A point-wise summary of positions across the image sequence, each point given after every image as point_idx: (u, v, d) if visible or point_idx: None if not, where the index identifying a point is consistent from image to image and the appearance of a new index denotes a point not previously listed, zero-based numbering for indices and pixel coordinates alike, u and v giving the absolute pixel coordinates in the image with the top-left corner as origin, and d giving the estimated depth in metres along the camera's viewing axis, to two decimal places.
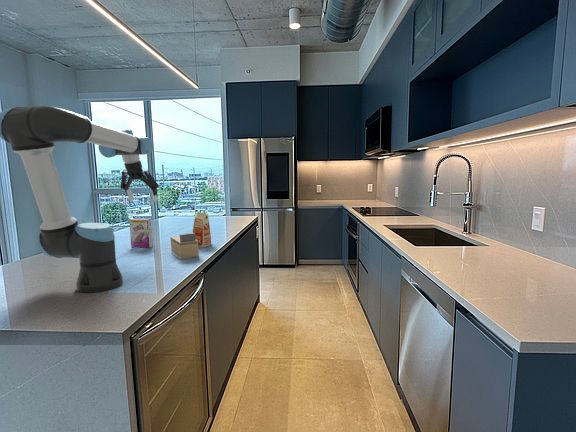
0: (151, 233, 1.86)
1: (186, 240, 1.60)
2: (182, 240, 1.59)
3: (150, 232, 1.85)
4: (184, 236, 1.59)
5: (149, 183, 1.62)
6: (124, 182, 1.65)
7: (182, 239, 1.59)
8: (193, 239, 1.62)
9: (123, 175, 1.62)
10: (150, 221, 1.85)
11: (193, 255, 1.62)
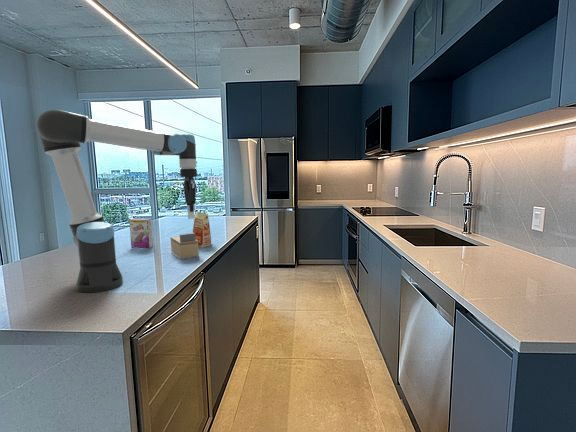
0: (151, 233, 1.86)
1: (186, 240, 1.60)
2: (182, 240, 1.59)
3: (150, 232, 1.85)
4: (184, 236, 1.59)
5: None
6: None
7: (182, 239, 1.59)
8: (193, 239, 1.62)
9: (184, 186, 1.56)
10: (150, 221, 1.85)
11: (193, 255, 1.62)
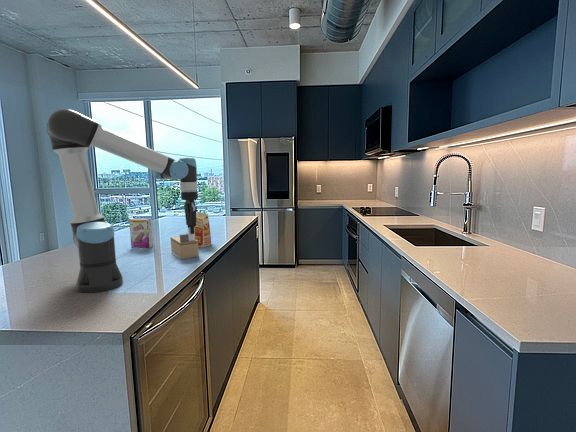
0: (151, 233, 1.86)
1: (186, 240, 1.60)
2: (182, 240, 1.59)
3: (150, 232, 1.85)
4: (184, 236, 1.59)
5: None
6: None
7: (182, 239, 1.59)
8: None
9: (184, 208, 1.57)
10: (150, 221, 1.85)
11: (193, 255, 1.62)
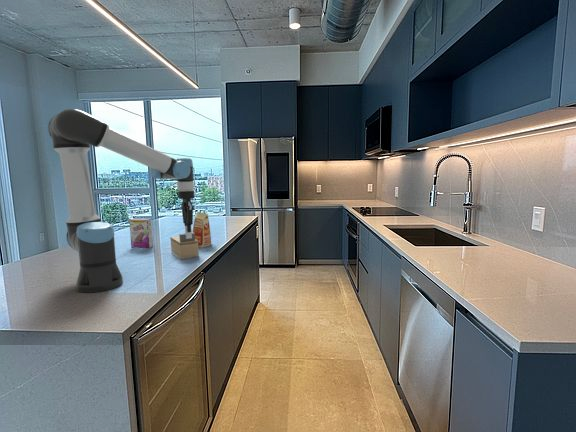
0: (151, 233, 1.86)
1: (186, 240, 1.60)
2: (182, 240, 1.59)
3: (150, 232, 1.85)
4: (184, 236, 1.60)
5: None
6: None
7: (182, 239, 1.59)
8: (193, 239, 1.62)
9: (182, 207, 1.62)
10: (150, 221, 1.85)
11: (193, 255, 1.62)
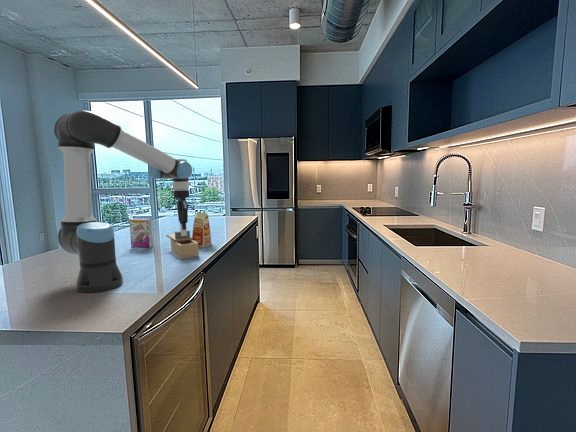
0: (151, 233, 1.86)
1: (181, 237, 1.67)
2: (177, 237, 1.66)
3: (150, 232, 1.85)
4: (179, 233, 1.67)
5: None
6: None
7: (177, 236, 1.66)
8: (188, 236, 1.69)
9: (177, 206, 1.69)
10: (150, 221, 1.85)
11: (193, 255, 1.62)
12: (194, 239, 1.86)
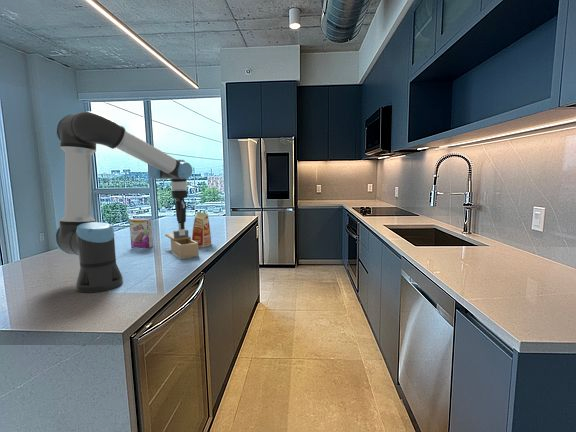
0: (151, 233, 1.86)
1: (179, 236, 1.70)
2: (176, 236, 1.69)
3: (150, 232, 1.85)
4: (177, 233, 1.69)
5: None
6: None
7: (176, 235, 1.69)
8: (186, 235, 1.72)
9: (175, 206, 1.71)
10: (150, 221, 1.85)
11: (193, 255, 1.62)
12: (194, 239, 1.86)
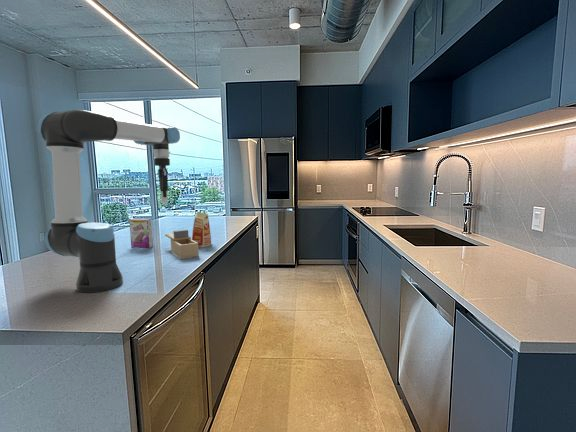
0: (151, 233, 1.86)
1: (179, 236, 1.70)
2: (176, 236, 1.69)
3: (150, 232, 1.85)
4: (177, 233, 1.69)
5: None
6: None
7: (176, 235, 1.69)
8: (186, 235, 1.72)
9: (158, 174, 1.72)
10: (150, 221, 1.85)
11: (193, 255, 1.62)
12: (194, 239, 1.86)
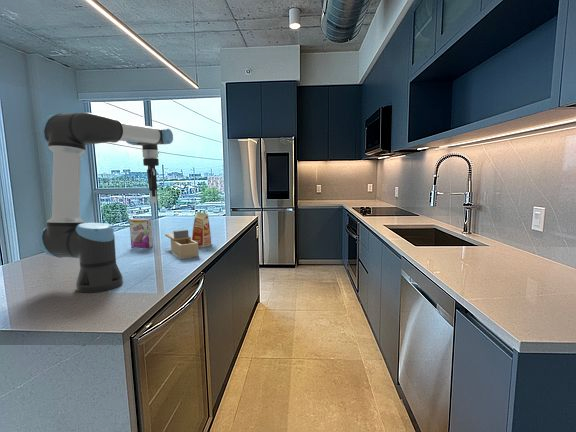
0: (151, 233, 1.86)
1: (179, 236, 1.70)
2: (176, 236, 1.69)
3: (150, 232, 1.85)
4: (177, 233, 1.69)
5: None
6: None
7: (176, 235, 1.69)
8: (186, 235, 1.72)
9: (147, 174, 1.76)
10: (150, 221, 1.85)
11: (193, 255, 1.62)
12: (194, 239, 1.86)
